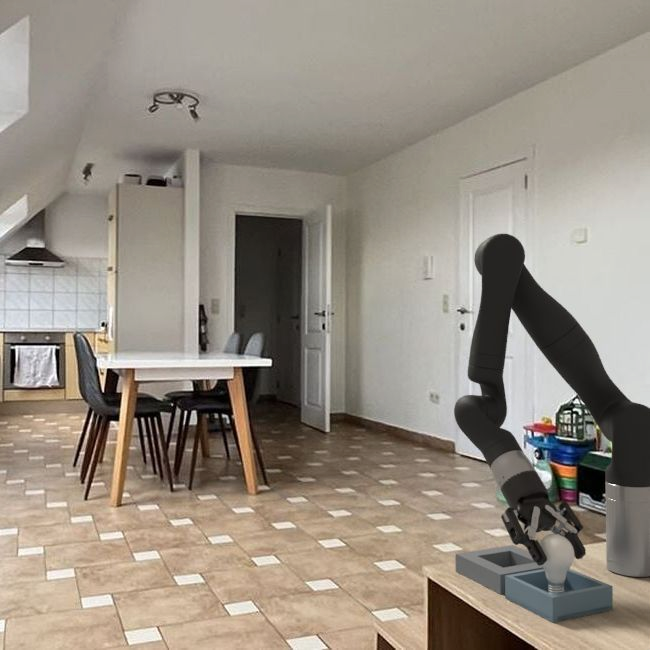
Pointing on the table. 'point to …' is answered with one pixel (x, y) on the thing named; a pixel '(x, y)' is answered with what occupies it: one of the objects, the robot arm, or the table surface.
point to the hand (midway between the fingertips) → (562, 559)
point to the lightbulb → (557, 560)
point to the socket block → (495, 565)
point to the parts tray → (559, 595)
